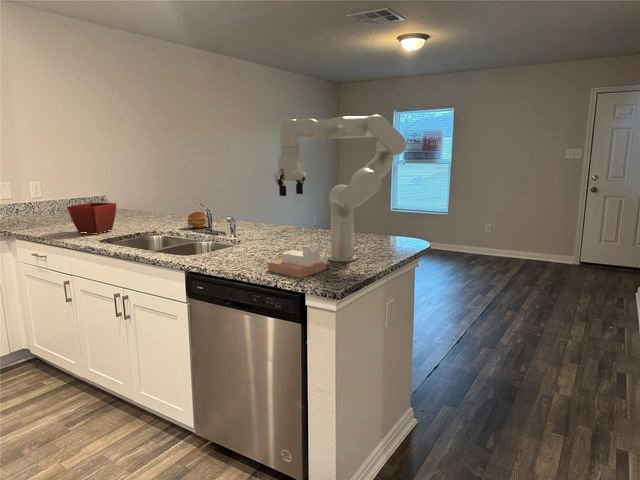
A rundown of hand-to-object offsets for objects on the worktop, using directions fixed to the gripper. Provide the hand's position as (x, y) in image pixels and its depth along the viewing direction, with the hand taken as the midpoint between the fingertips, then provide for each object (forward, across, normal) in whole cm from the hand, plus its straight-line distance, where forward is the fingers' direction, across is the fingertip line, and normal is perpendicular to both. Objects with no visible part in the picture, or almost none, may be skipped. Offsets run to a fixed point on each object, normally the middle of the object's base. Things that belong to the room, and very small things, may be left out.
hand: (291, 194), depth 179 cm
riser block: (+29, +7, +8) cm, 31 cm away
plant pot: (+29, +16, -147) cm, 151 cm away
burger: (+29, -31, -110) cm, 118 cm away
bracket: (+25, +7, +11) cm, 28 cm away
